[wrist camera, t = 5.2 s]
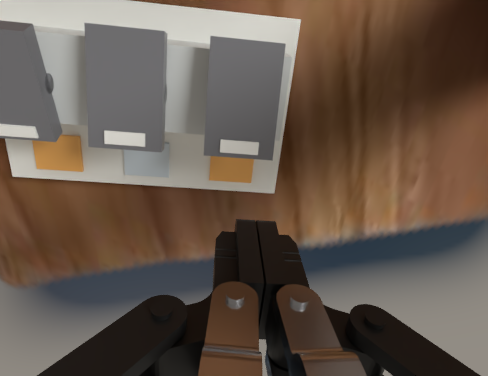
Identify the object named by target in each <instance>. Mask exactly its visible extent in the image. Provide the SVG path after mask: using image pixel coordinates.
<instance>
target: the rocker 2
mask: <svg viewBox="0 0 488 376" xmlns="http://www.w3.org/2000/svg"><path fill="white" fill-rule="evenodd" d="M285 46H286V44H284V43H275V42H265V41H256V40H246V39H236V38H227V37H217V36H210V53H209V70H208V87H207V104H206V122H205V139H204V156H218V157H231V158H245V159H258V160H272V161H273V152H274V143H275V134H276V126H277V117H278V108H279V99H280V90H281V81H282V72H283V64H284V55H285Z"/></svg>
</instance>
